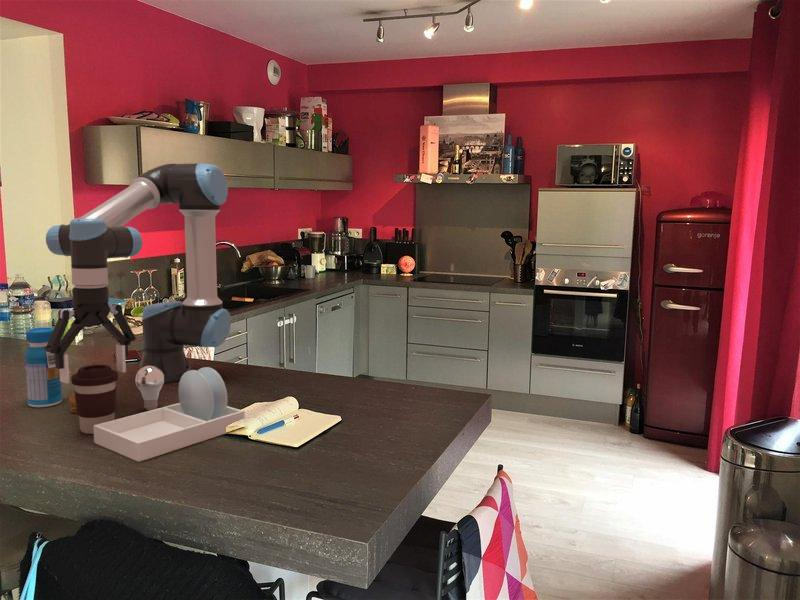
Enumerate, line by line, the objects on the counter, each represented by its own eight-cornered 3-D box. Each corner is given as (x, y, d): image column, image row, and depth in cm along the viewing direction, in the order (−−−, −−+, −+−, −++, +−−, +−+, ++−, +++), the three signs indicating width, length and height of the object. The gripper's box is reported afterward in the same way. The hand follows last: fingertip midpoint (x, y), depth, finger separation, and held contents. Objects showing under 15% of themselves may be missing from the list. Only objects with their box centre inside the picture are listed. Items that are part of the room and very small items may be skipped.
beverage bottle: (26, 409, 168) (21, 333, 165) (27, 401, 176) (22, 327, 173) (63, 405, 172) (58, 331, 169) (62, 397, 180) (58, 325, 177)
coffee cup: (129, 426, 157) (127, 365, 155) (95, 439, 148) (91, 375, 146) (100, 420, 161) (97, 361, 159) (64, 432, 152) (60, 369, 150)
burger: (107, 413, 167) (106, 395, 167) (67, 416, 164) (65, 398, 164) (111, 402, 176) (110, 385, 176) (72, 405, 173) (71, 388, 173)
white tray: (199, 412, 168) (199, 397, 168) (244, 427, 158) (244, 411, 157) (94, 442, 146) (93, 425, 146) (138, 461, 136) (138, 443, 135)
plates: (194, 413, 164) (193, 363, 163) (228, 424, 157) (226, 371, 155) (179, 418, 161) (177, 366, 159) (212, 429, 153) (211, 375, 151)
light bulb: (171, 408, 171) (169, 364, 170) (153, 416, 165) (151, 370, 163) (149, 405, 174) (147, 361, 172) (130, 413, 167) (128, 367, 165)
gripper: (131, 281, 162) (134, 365, 165) (25, 289, 142) (30, 384, 145) (148, 283, 158) (151, 369, 160) (41, 291, 138) (46, 390, 140)
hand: (94, 376), depth 153 cm, fingers open, 13 cm apart
